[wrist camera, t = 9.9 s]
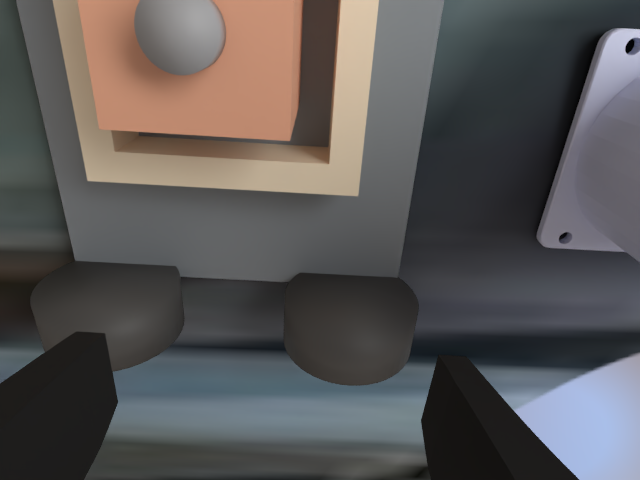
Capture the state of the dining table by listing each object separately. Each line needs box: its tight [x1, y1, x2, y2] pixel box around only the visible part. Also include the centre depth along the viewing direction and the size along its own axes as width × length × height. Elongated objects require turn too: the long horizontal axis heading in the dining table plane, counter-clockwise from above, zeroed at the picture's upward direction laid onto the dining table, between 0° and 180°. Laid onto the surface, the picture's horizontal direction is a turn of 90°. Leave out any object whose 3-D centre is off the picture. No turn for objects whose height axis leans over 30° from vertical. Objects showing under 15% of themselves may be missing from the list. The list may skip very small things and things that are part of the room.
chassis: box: [16, 0, 444, 385], centre depth 12 cm, size 14×21×5 cm, turn 177°
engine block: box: [77, 0, 303, 141], centre depth 11 cm, size 4×4×6 cm
